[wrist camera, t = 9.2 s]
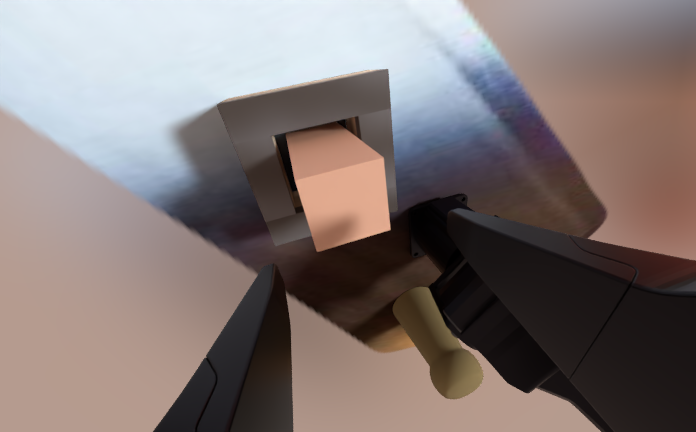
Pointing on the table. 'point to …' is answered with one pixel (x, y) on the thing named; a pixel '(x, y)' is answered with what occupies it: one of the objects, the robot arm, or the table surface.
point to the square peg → (338, 184)
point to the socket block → (297, 113)
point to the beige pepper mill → (437, 344)
